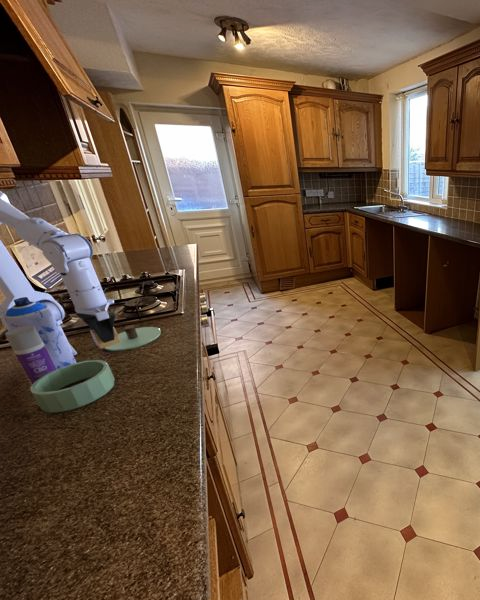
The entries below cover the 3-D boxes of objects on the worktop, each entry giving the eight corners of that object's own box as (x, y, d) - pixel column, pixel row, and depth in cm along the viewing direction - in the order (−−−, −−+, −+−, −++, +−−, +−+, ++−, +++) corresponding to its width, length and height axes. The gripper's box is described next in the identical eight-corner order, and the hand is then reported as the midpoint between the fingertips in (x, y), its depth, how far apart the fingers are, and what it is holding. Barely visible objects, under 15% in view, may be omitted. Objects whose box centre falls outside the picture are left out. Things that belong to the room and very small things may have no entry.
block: (95, 344, 81) (89, 330, 79) (115, 337, 84) (109, 324, 82) (100, 349, 79) (94, 334, 77) (120, 342, 82) (115, 328, 80)
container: (45, 392, 74) (14, 336, 69) (30, 390, 75) (-3, 334, 69) (68, 380, 79) (40, 326, 73) (53, 378, 80) (24, 324, 74)
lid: (98, 343, 95) (92, 329, 93) (152, 326, 105) (147, 313, 103) (113, 358, 88) (106, 343, 86) (169, 337, 98) (164, 324, 96)
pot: (35, 397, 73) (25, 379, 71) (106, 370, 82) (98, 354, 80) (47, 421, 66) (36, 402, 64) (122, 388, 75) (114, 371, 73)
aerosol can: (67, 359, 87) (33, 291, 80) (85, 364, 85) (51, 294, 77) (28, 376, 81) (-13, 303, 73) (46, 382, 78) (5, 307, 70)
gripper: (115, 288, 74) (135, 339, 80) (97, 277, 82) (116, 324, 87) (75, 298, 69) (99, 352, 74) (59, 285, 77) (82, 335, 82)
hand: (106, 338), depth 81 cm, fingers closed on block, 4 cm apart
